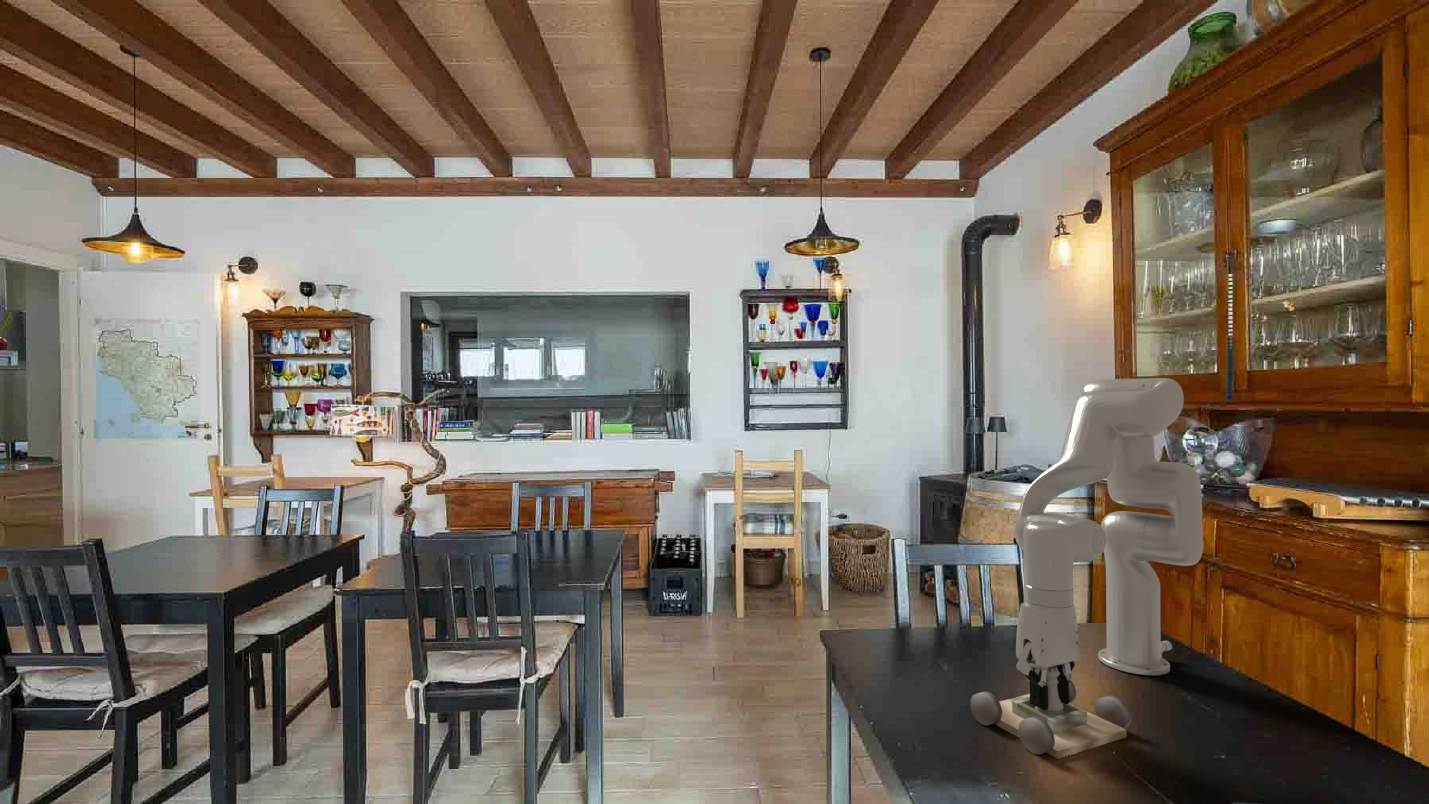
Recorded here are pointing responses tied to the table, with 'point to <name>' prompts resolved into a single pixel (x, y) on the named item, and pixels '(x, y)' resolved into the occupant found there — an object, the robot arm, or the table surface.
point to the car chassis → (1055, 722)
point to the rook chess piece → (1052, 694)
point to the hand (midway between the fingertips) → (1049, 702)
